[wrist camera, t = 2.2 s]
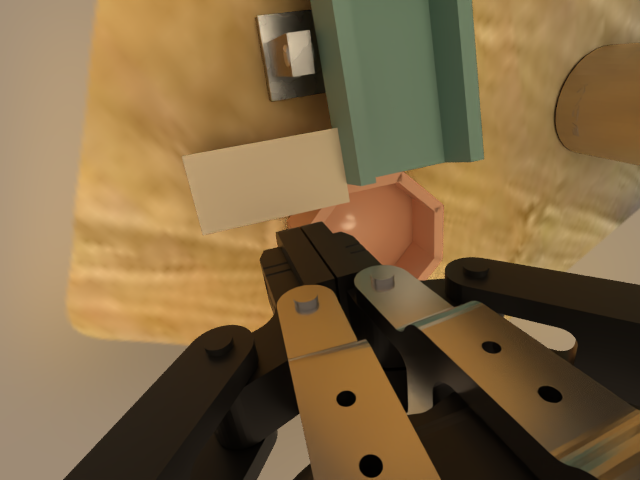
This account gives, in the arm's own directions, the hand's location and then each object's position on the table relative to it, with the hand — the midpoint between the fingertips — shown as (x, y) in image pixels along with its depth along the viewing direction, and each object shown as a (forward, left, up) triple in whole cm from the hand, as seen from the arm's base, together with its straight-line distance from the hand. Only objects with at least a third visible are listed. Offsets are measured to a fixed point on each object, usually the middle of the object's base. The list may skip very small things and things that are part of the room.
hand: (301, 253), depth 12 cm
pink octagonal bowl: (-8, +8, -17) cm, 21 cm away
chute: (-4, -5, -12) cm, 14 cm away
